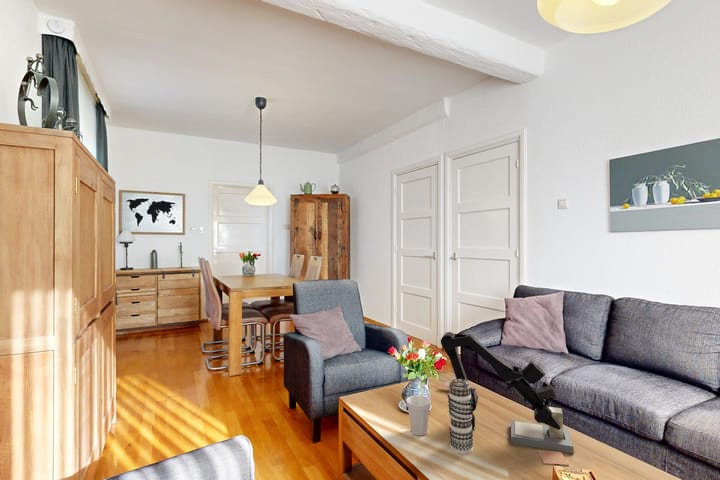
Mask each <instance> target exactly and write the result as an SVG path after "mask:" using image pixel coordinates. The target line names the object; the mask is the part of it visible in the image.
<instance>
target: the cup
mask: <svg viewBox="0 0 720 480" xmlns="http://www.w3.org/2000/svg"><path fill="white" fill-rule="evenodd" d="M405 401H406V406H407V410H408V416H409V421H410V423H409V424H410V429H411V433H412V434H413V435H416V436H424V435H426V434H427V433H428V427H429V426H428V424H429V417H430V416H429V415H430V408H431V403H432V400H431V399H430V397H429V398H428V397H427V396H424V395H412V396H409V397H407V398H406V400H405Z"/></svg>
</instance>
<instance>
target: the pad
mask: <svg viewBox="0 0 720 480" xmlns="http://www.w3.org/2000/svg"><path fill="white" fill-rule="evenodd" d="M536 452H537V454H538V455H539V458H540V459H541V461H542V463H543V465H550V466H555V465H554V464H561V465H560V466H563V465H570V464H569V462H568V461H567V459H566V458H565V456H564V454H563V453H562V451H556V450H543V449H537V450H536Z"/></svg>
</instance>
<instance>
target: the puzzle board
mask: <svg viewBox="0 0 720 480" xmlns="http://www.w3.org/2000/svg"><path fill="white" fill-rule="evenodd" d="M510 443H511V444H515V445H522V446H526V447H527V446H528V447H533V448H534V447H535V448H539V449H545V450H549V451H559V452H561V453H562V452H563V453H568V454H574V452H575V450H574V449H575V448H574V443H573V440H572V437H571V434H570V430H569V428H568V427H563V439H556V438H550V437H549V425H546V424H543V423H536V422H528V421H520V420H515V419H511V420H510Z"/></svg>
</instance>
